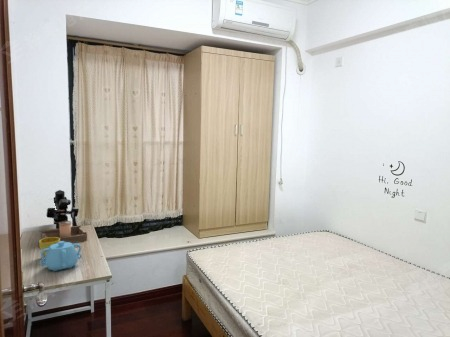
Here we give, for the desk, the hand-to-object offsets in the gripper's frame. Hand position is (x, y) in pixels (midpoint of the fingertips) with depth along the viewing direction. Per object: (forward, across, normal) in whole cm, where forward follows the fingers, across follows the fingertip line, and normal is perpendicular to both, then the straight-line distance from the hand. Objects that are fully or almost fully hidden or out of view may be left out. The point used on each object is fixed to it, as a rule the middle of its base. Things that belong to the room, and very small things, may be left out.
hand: (65, 218), depth 202 cm
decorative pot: (+46, -9, +3) cm, 47 cm away
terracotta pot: (+5, +1, +14) cm, 15 cm away
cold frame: (+2, +1, +15) cm, 15 cm away
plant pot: (+27, -12, +9) cm, 31 cm away
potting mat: (+15, +1, +11) cm, 19 cm away
